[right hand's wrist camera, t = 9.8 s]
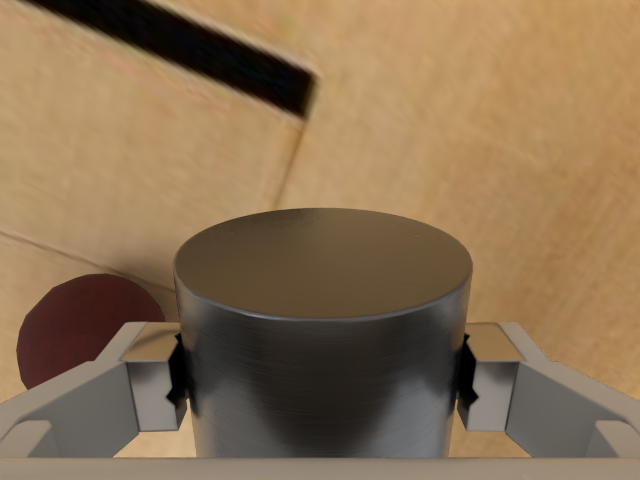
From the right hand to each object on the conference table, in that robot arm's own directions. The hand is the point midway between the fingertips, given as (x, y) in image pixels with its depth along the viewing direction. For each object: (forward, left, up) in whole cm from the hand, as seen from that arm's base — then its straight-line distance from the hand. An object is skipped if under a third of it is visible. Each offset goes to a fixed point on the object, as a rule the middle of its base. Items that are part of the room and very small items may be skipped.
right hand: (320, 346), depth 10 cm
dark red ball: (+6, -14, -16) cm, 22 cm away
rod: (+11, -1, -3) cm, 11 cm away
